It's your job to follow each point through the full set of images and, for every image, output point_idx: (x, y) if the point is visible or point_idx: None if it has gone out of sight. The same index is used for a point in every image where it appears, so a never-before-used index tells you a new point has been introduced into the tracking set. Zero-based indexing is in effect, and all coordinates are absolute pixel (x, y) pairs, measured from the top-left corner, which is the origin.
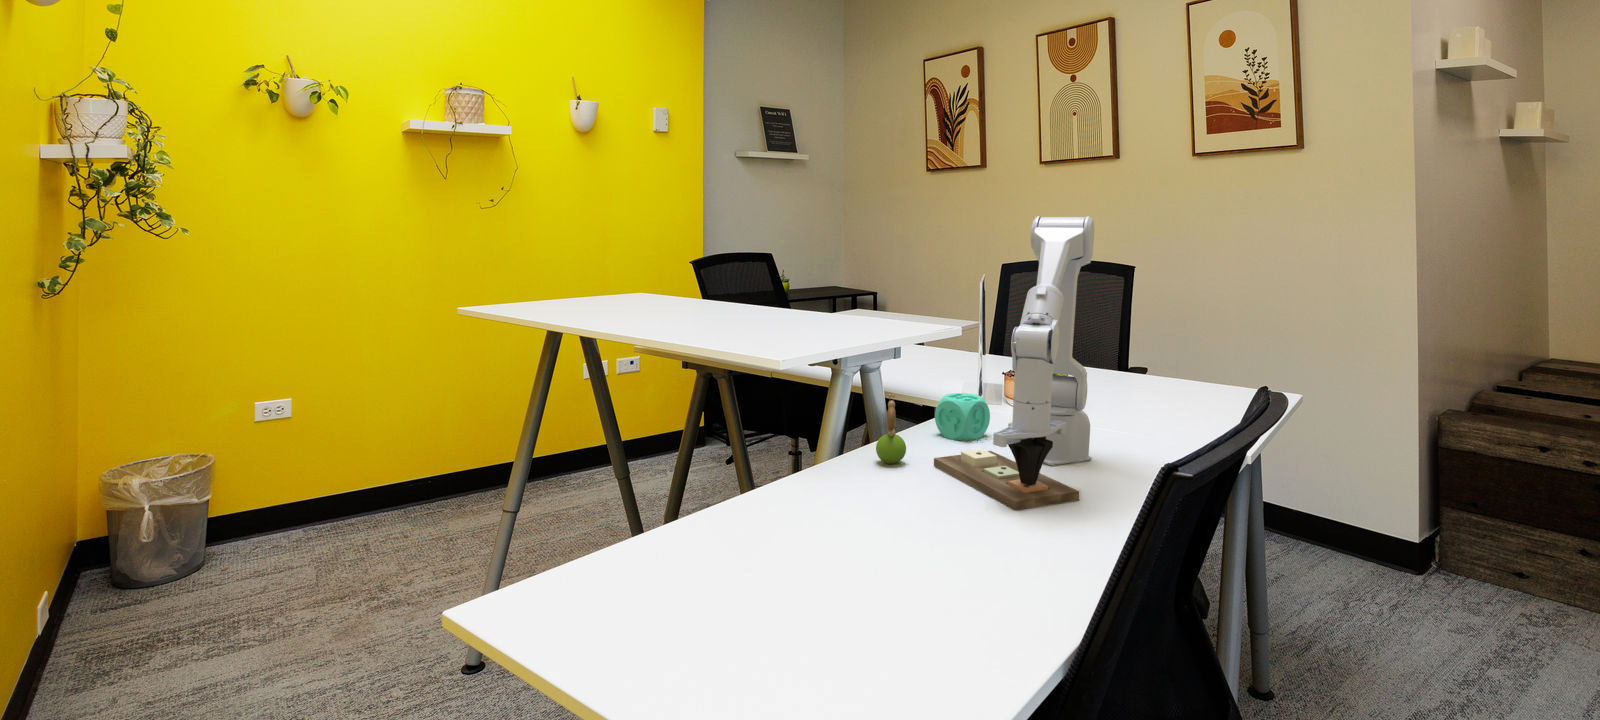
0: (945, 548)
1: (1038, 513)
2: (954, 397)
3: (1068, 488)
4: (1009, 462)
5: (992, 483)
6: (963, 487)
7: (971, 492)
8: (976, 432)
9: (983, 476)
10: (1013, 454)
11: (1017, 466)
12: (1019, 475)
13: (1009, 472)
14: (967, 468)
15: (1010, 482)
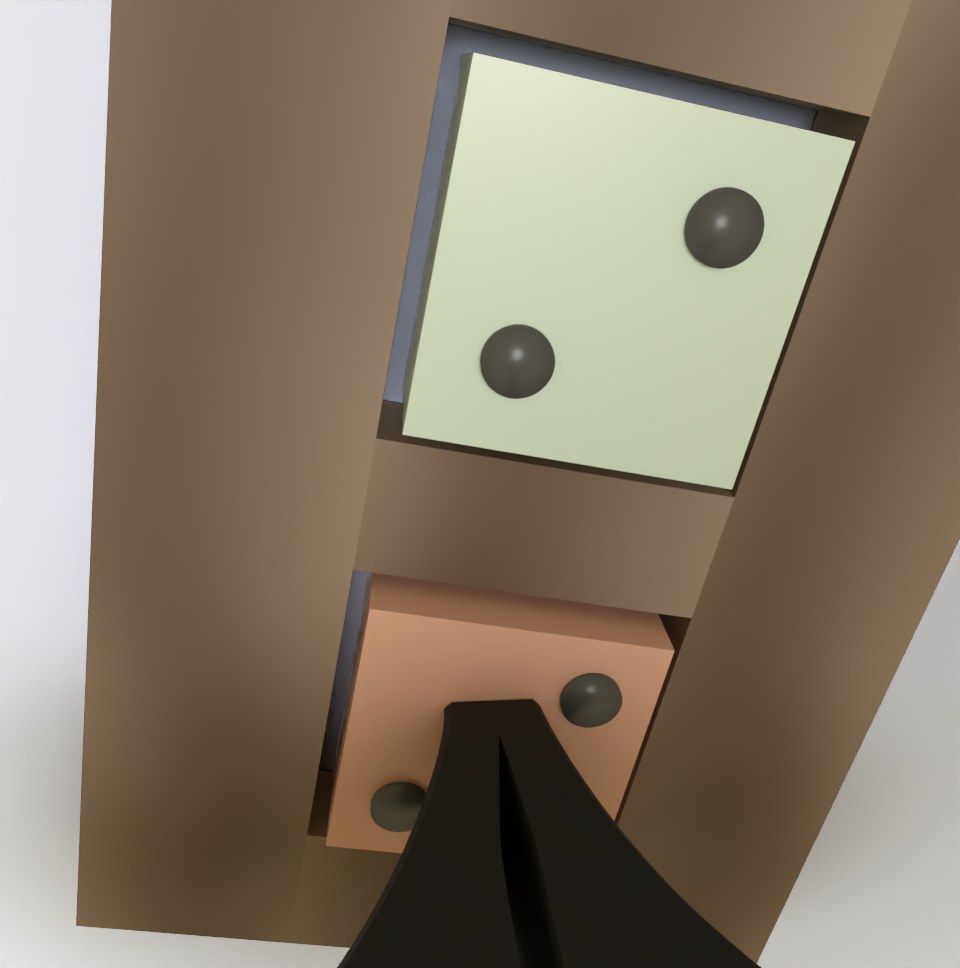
0: None
1: (234, 950)
2: None
3: (739, 912)
4: None
5: (212, 500)
6: (28, 137)
7: (15, 332)
8: None
9: (297, 242)
10: (347, 959)
11: (416, 823)
12: (442, 745)
13: (638, 397)
14: None
15: (365, 638)
